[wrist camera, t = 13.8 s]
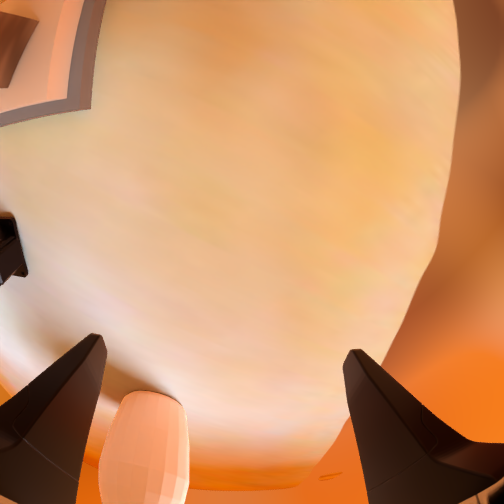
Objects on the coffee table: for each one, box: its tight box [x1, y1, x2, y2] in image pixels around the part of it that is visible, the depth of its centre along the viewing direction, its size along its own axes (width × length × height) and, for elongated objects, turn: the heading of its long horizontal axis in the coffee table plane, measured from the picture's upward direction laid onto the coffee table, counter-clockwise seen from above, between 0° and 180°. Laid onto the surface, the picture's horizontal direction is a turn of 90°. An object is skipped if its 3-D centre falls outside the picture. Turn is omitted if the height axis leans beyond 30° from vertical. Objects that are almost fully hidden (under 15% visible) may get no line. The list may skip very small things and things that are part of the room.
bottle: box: [99, 391, 189, 504], centre depth 22 cm, size 11×11×25 cm
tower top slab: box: [0, 0, 84, 113], centre depth 10 cm, size 10×10×2 cm
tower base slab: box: [0, 0, 106, 127], centre depth 12 cm, size 12×12×2 cm
